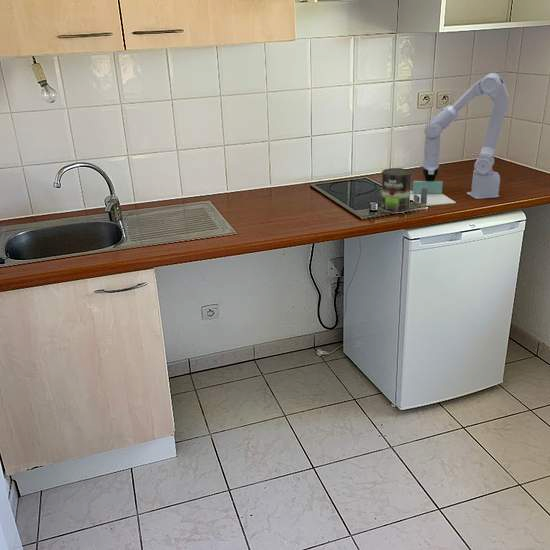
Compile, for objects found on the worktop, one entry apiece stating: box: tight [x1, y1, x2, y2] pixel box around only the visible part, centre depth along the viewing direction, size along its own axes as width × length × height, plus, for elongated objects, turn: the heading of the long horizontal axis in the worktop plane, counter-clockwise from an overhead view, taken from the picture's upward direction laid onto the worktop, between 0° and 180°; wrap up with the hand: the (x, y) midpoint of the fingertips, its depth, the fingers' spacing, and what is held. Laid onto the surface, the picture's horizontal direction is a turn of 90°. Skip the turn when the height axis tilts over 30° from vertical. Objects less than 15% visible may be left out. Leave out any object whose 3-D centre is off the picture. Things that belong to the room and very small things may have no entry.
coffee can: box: [380, 167, 413, 214], centre depth 207 cm, size 10×10×14 cm
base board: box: [410, 190, 457, 207], centre depth 222 cm, size 15×19×1 cm
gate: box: [411, 180, 443, 194], centre depth 225 cm, size 2×11×4 cm, turn 80°
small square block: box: [414, 188, 428, 205], centre depth 215 cm, size 3×6×6 cm, turn 10°
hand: (429, 188), depth 229 cm, fingers closed
